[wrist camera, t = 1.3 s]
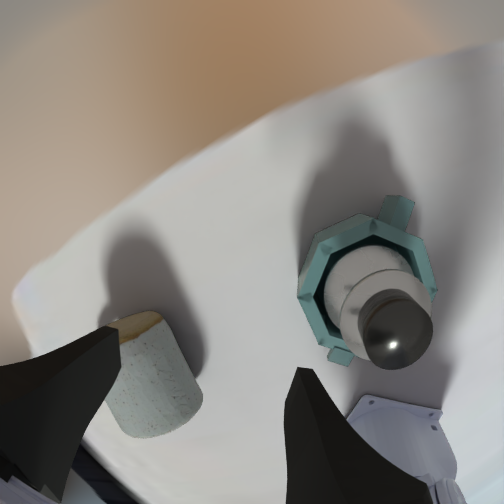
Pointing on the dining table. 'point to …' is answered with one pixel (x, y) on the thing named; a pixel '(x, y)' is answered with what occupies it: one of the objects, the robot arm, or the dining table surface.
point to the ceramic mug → (151, 379)
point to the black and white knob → (379, 306)
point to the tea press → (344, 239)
